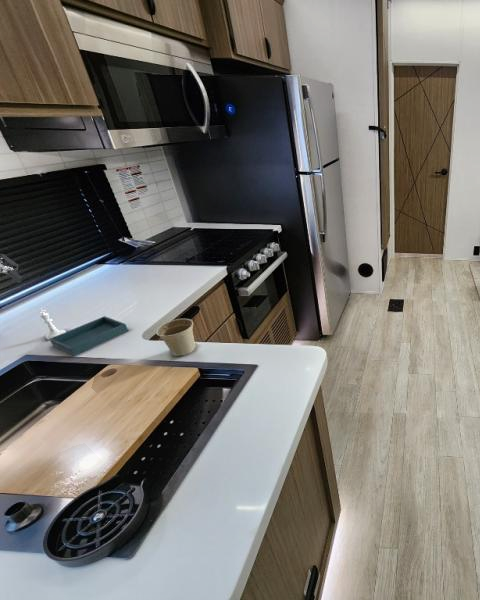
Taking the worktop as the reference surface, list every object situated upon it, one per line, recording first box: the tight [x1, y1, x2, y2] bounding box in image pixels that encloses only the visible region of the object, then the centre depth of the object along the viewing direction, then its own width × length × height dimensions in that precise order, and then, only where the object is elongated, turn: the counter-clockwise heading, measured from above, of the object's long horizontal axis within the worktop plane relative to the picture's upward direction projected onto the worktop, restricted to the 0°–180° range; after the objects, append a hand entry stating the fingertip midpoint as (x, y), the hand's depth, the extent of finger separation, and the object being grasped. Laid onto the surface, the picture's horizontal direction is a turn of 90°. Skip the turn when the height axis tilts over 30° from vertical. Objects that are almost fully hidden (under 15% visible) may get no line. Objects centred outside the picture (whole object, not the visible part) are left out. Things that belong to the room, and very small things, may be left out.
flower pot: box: [155, 318, 196, 357], centre depth 99 cm, size 9×9×9 cm
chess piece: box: [38, 308, 67, 340], centre depth 107 cm, size 5×5×10 cm
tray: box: [48, 315, 129, 357], centre depth 107 cm, size 15×12×3 cm
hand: (3, 286), depth 104 cm, fingers open, 8 cm apart
